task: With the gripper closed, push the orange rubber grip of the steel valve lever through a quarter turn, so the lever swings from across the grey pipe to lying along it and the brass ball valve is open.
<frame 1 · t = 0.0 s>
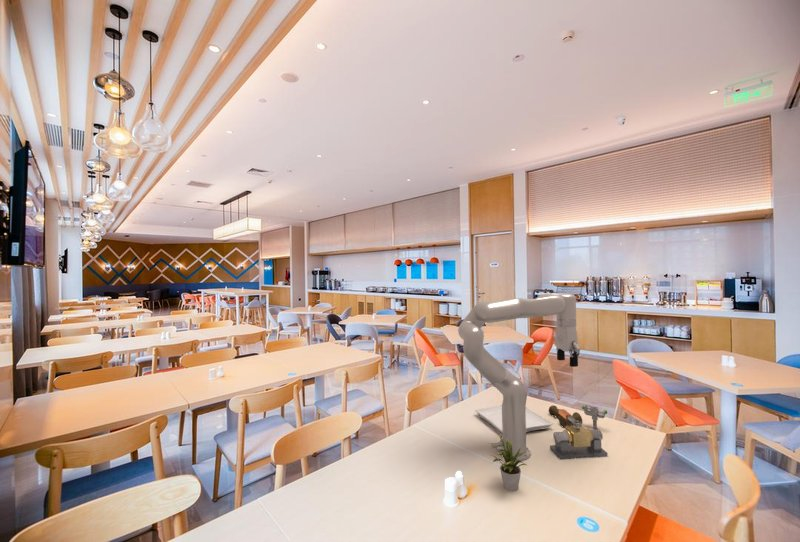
hand: (567, 363, 144), 37 cm above the table, tool pointing down, fingers open, 9 cm apart
kendama: (565, 423, 169), on the table
mechanical component: (594, 429, 162), on the table
house plant: (507, 484, 122), on the table
valve lever: (570, 417, 147), point 12 cm above the table, hinge at 90.0°
square plate: (512, 423, 170), on the table
ball valve: (578, 452, 142), on the table
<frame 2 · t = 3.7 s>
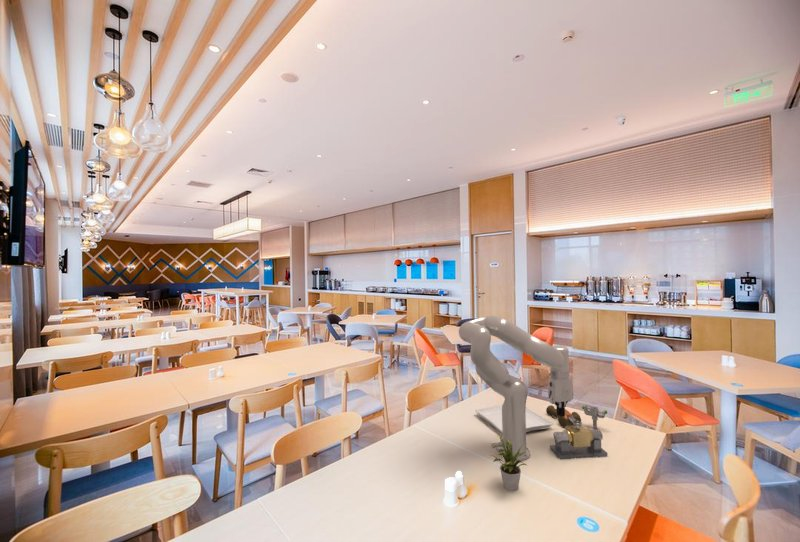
hand: (560, 415, 150), 12 cm above the table, tool pointing down, fingers closed
valve lever: (570, 417, 147), point 12 cm above the table, hinge at 86.0°, touching gripper
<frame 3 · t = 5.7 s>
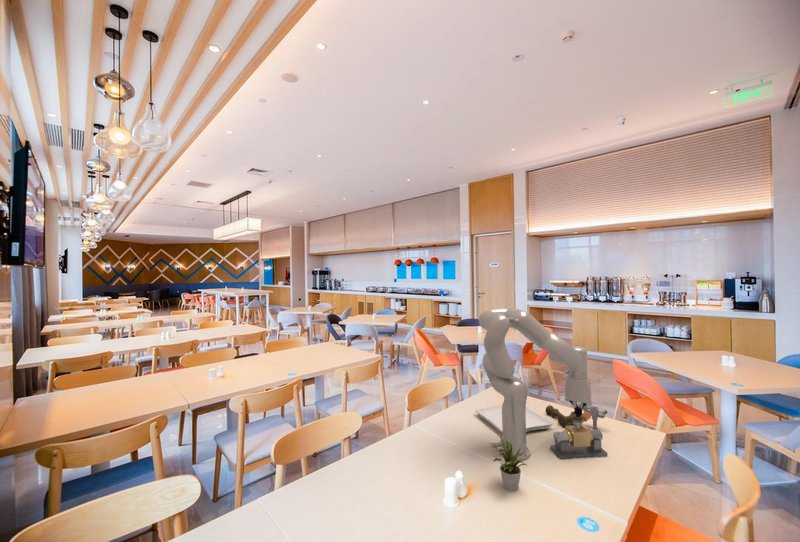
hand: (578, 415, 150), 11 cm above the table, tool pointing down, fingers closed
valve lever: (582, 419, 145), point 12 cm above the table, hinge at 39.1°, touching gripper
everything else where it was.
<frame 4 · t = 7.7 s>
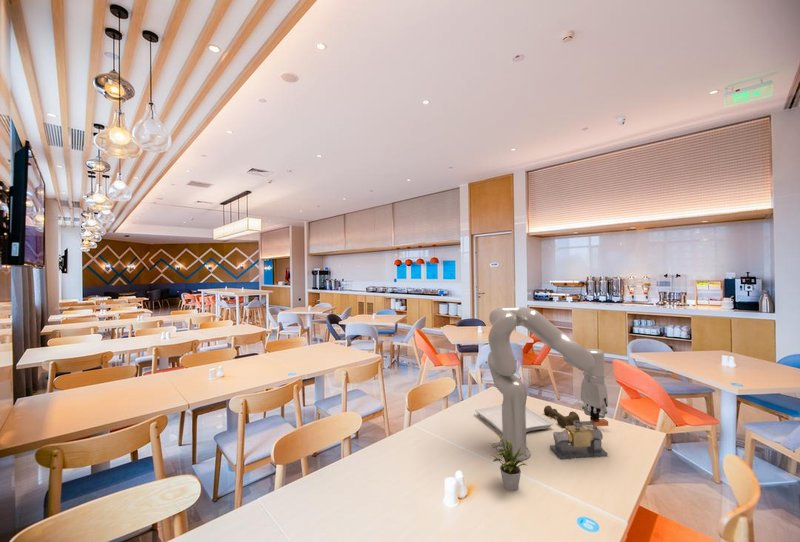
hand: (594, 421, 145), 11 cm above the table, tool pointing down, fingers closed
valve lever: (590, 422, 142), point 12 cm above the table, hinge at -0.8°, touching gripper
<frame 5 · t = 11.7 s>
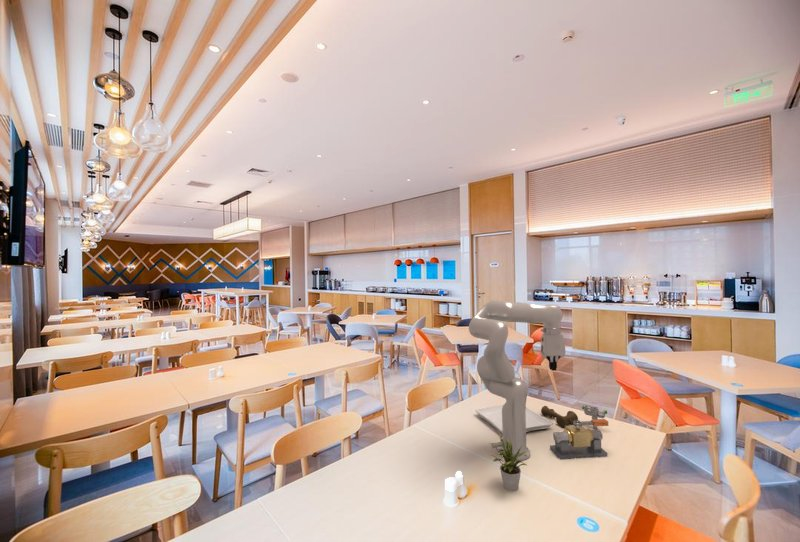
hand: (553, 369, 160), 29 cm above the table, tool pointing down, fingers closed
valve lever: (590, 422, 142), point 12 cm above the table, hinge at -0.9°
at the end: valve lever at -1° (first picture: +90°) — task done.
